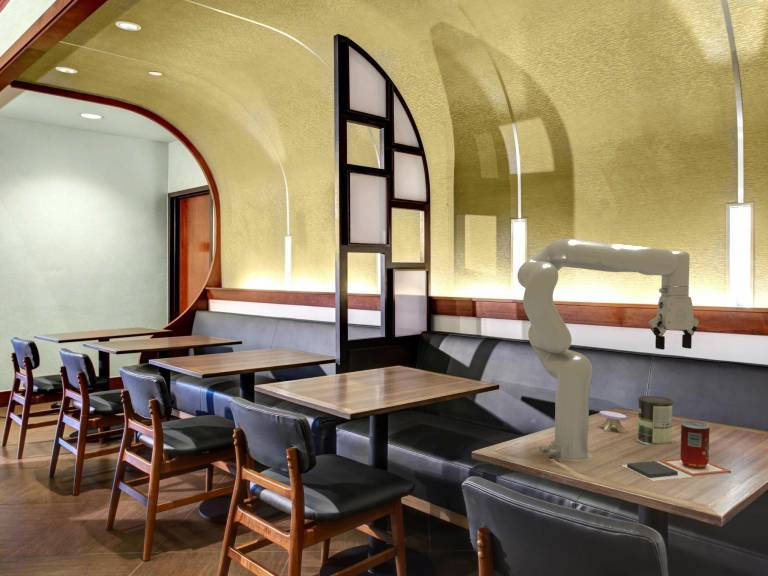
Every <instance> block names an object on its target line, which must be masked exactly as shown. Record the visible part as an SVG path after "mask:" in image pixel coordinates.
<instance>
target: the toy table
mask: <svg viewBox="0 0 768 576" xmlns="http://www.w3.org/2000/svg"><path fill="white" fill-rule="evenodd" d="M599 416H601V417H603V418H606V420H605V421H604V422H603V423H602V424H601V425H600V428H602V427H603V428H602V429H603V431H605V433H609V432H611V430H612V427H613V425H614V426H615V429H616V430H617V432H618V431H619V433H623V434H625V433H626V429H625V428H624V426H623V425H622V424H621V421H626V420H627V419H628V417H627V415H625V414H623V413H619V412H615V411H609V410H600V411H599ZM608 431H609V432H608Z"/></svg>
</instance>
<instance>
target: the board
mask: <svg viewBox="0 0 768 576" xmlns="http://www.w3.org/2000/svg"><path fill="white" fill-rule="evenodd" d="M657 462H658V463H660V464H662V465H664V466H667V467H669V468H671V469H673V470H676V471H678V475H675V476H665V477H655V478H648V477H646V476H644V475H642V474H640V473H638V472H636V471H634V470H632V469H630V468H628V467H627V464H621V466H622V467H623V468H625V469H628V470H629V471H631V472H634V473H636V474H638V475H640V476H642V477H643V478H646V479H648V480H650V481H652V482H655V481H665V480H666V481H667V480H674V479H675V480H677V479H685V478H694V477H695V478H696V477H698V476H691V475H688V474H686V473H684V472H681V471H679V470H677V469H675V468H672V467H670V466H668V465H666V464H663V463H661V462H660V461H657ZM724 474H727V473H721V474H720V475H724ZM713 475H717V474H711V475H710V476H713ZM705 476H707V475H701V476H700V477H705Z"/></svg>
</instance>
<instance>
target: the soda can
mask: <svg viewBox="0 0 768 576" xmlns="http://www.w3.org/2000/svg"><path fill="white" fill-rule="evenodd" d="M680 426H681V427H680V454H679V455H680V456H679V457H680V458H681V461H682V463H683V466H685V467H687V468H690V469H698V470H701V469H705V468H706V465H707V464H708V462H710V461H709V457H710V456H709V455H710V426H709V425H708V424H707V423H705V422H702V421H698V420H685V421H684V422H682V423H681V424H680Z"/></svg>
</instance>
